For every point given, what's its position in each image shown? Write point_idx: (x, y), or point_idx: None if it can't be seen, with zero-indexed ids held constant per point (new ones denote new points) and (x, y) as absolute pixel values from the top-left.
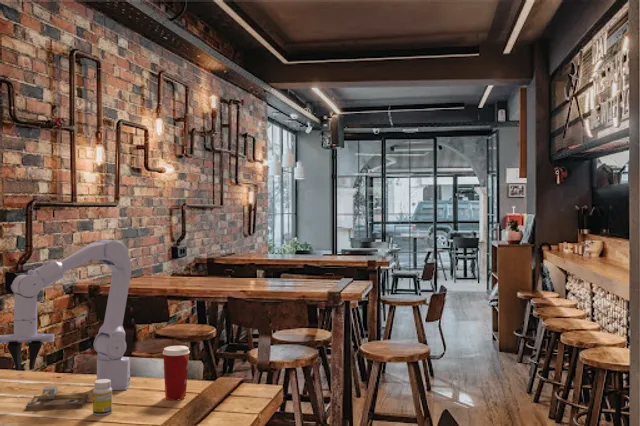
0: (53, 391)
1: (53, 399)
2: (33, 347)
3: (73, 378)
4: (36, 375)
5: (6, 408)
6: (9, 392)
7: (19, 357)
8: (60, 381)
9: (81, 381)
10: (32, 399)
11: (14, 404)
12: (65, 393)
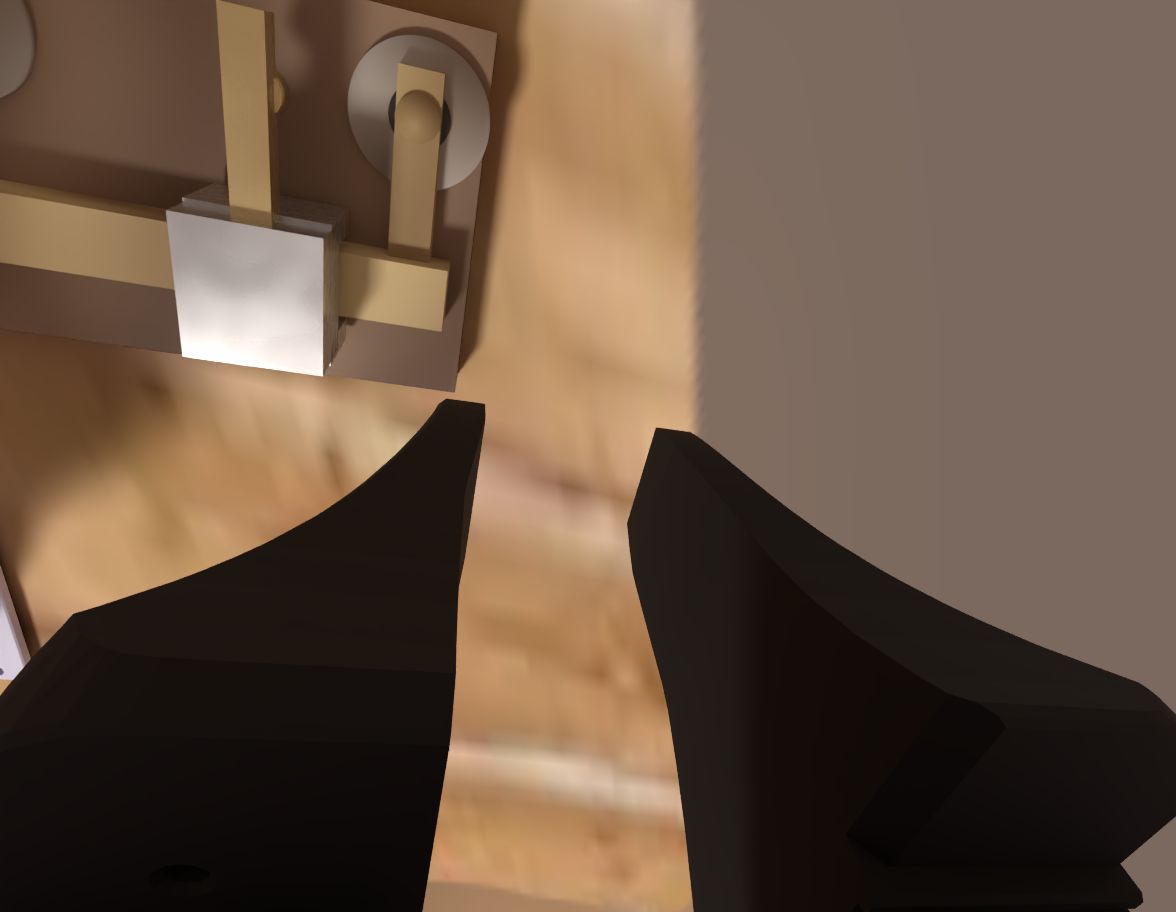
0: (192, 208)
1: None
2: (250, 638)
3: None
4: (533, 852)
5: (685, 188)
6: None
7: (684, 631)
8: None
9: None
10: (463, 275)
11: (622, 299)
12: (102, 270)
